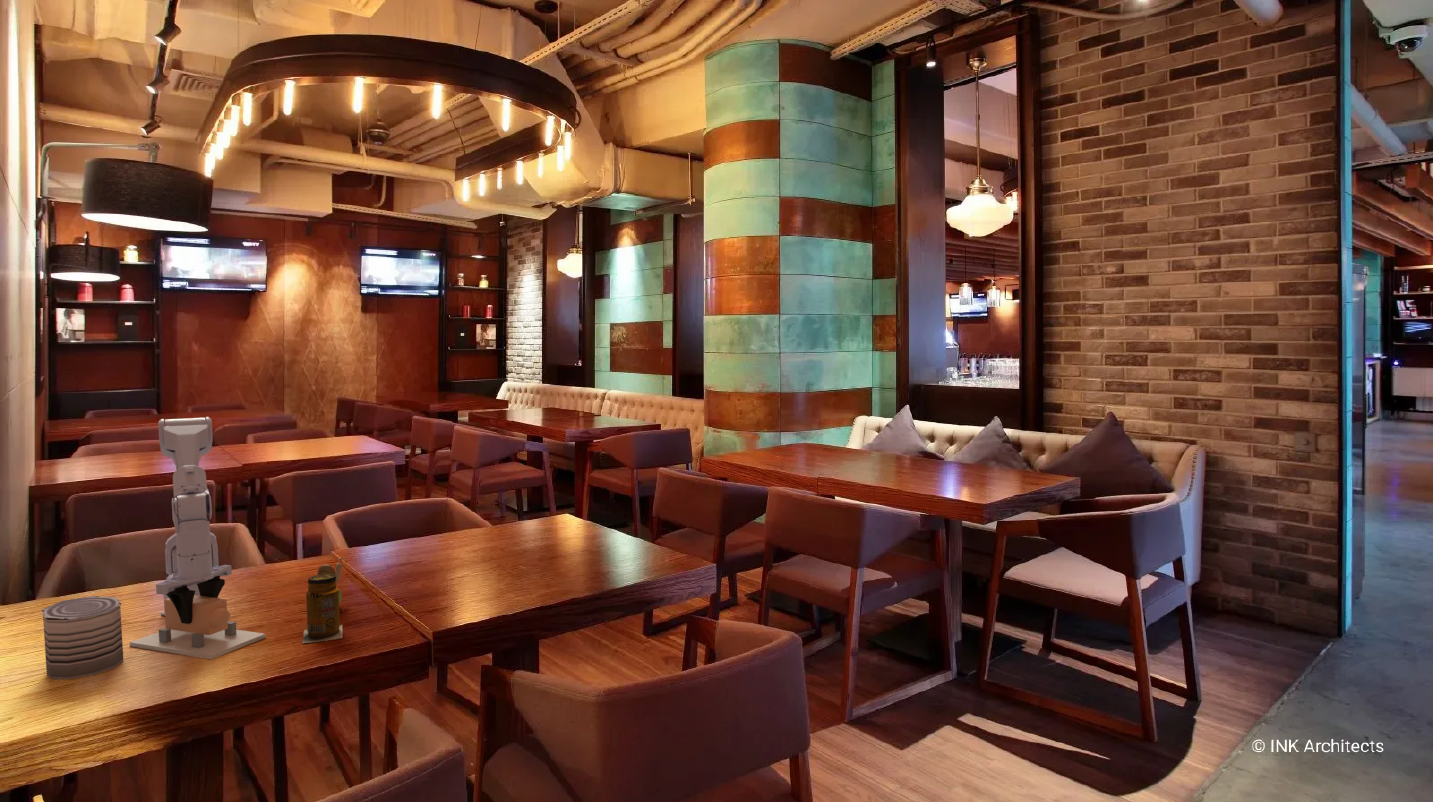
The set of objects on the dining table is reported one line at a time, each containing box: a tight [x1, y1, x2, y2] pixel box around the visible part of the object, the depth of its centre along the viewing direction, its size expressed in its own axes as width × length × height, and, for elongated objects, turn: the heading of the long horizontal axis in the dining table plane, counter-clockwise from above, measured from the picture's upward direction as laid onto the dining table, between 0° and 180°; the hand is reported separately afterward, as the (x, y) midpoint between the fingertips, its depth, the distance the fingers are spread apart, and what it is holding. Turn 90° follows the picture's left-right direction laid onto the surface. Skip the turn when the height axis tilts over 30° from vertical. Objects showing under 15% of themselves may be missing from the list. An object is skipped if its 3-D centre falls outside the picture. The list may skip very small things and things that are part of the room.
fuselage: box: [163, 595, 231, 635], centre depth 158 cm, size 14×4×6 cm, turn 71°
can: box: [41, 595, 124, 681], centre depth 146 cm, size 11×11×12 cm
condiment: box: [302, 574, 344, 644], centre depth 162 cm, size 7×8×12 cm
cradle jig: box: [129, 620, 266, 660], centre depth 159 cm, size 22×12×3 cm, turn 71°
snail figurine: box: [317, 557, 343, 604], centre depth 178 cm, size 5×6×12 cm
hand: (197, 619), depth 158 cm, fingers closed on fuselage, 4 cm apart
